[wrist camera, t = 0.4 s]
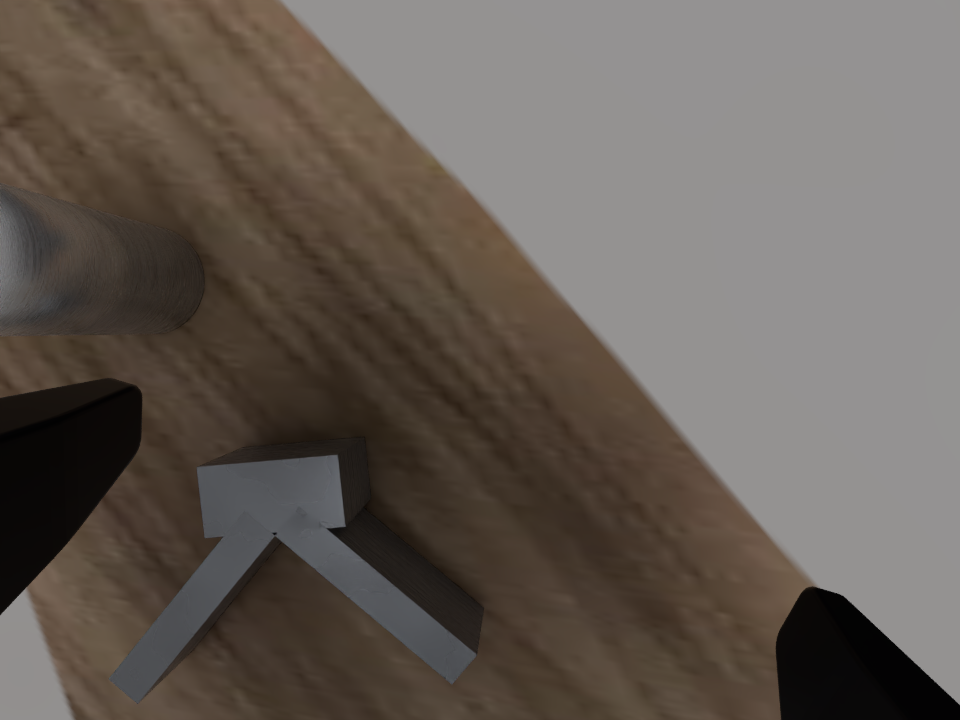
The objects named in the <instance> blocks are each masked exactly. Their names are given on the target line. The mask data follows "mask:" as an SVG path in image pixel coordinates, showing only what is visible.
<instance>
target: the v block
mask: <svg viewBox="0 0 960 720" xmlns="http://www.w3.org/2000/svg"><path fill="white" fill-rule="evenodd" d="M197 475H198V484H199V493H200V501H201V510H202V519H203V528H204V536H205V538H211V537H223V536H224V537H223V538H222V539H221V540H220V542H219V543H218V544H217V545H216V547H215V548H214V549H213V550H212V552H211V553H210V554H209V555H208V557H207V558H206V559H205V560H204V561H203V563H202V564H201V565H200V566H199V568H198V569H197V570H196V571H195V573H194V574H193V575H192V576H191V578H190V579H189V580H188V581H187V583H186V584H185V585H184V586H183V587H182V589H181V590H180V591H179V592H178V594H177V595H176V596H175V597H174V599H173V600H172V601H171V602H170V604H169V605H168V606H167V607H166V609H165V610H164V611H163V612H162V613H161V615H160V616H159V617H158V618H157V620H156V621H155V622H154V623H153V625H152V626H151V627H150V628H149V630H148V631H147V632H146V633H145V635H144V636H143V637H142V638H141V639H140V641H139V642H138V643H137V644H136V646H135V647H134V648H133V649H132V651H131V652H130V653H129V654H128V656H127V657H126V658H125V659H124V661H123V662H122V663H121V664H120V665H119V667H118V668H117V669H116V670H115V672H114V673H113V674H112V675H111V677H110V678H109V680H110V681H111V682H113V683H114V684H115V685H116V686H117V687H118V688H120V689H121V690H122V691H123V692H124V693H125V694H127V695H128V696H129V697H130V698H131V699H132V700H134V701H135V702H136V703H137V704H138V703H139V702H140V701H141V700H142V699H143V698H144V697H145V696H146V695H147V694H148V693H149V692H151V691H152V690H153V689H154V688H155V687H156V686H157V685H158V684H159V683H160V682H161V681H162V680H163V679H164V678H165V677H166V676H167V675H168V674H169V673H170V672H171V671H172V670H173V669H174V668H175V667H176V666H177V665H178V664H179V663H180V662H181V661H182V660H183V659H185V658H186V657H187V656H188V655H189V654H190V653H191V652H192V651H193V649H194V648H195V647H196V646H197V644H198V643H199V642H200V641H201V640H202V638H203V637H204V636H205V635H206V633H207V632H208V631H209V630H210V629H211V627H212V626H213V625H214V624H215V622H216V621H217V620H218V619H219V618H220V616H221V615H222V614H223V613H224V611H225V610H226V609H227V608H228V606H229V605H230V604H231V603H232V602H233V600H234V599H235V598H236V597H237V595H238V594H239V593H240V592H241V591H242V589H243V588H244V587H245V586H246V584H247V583H248V582H249V581H250V580H251V578H252V577H253V576H254V575H255V573H256V572H257V571H258V570H259V569H260V567H261V566H262V565H263V564H264V562H265V561H266V560H267V559H268V558H269V556H270V555H271V554H272V553H273V551H274V550H275V549H276V548H277V546H278V545H279V544H280V543H281V542H283V543H284V544H285V545H287V546H288V547H289V548H290V549H291V550H293V551H294V552H295V553H296V554H297V555H298V556H300V557H301V558H302V559H303V560H304V561H306V562H307V563H308V564H309V565H310V566H312V567H313V568H314V569H315V570H316V571H318V572H319V573H320V574H321V575H322V576H323V577H325V578H326V579H327V580H328V581H329V582H331V583H332V584H333V585H334V586H335V587H337V588H338V589H339V590H340V591H341V592H343V593H344V594H345V595H346V596H347V597H348V598H350V599H351V600H352V601H353V602H354V603H356V604H357V605H358V606H359V607H360V608H362V609H363V610H364V611H365V612H366V613H368V614H369V615H370V616H371V617H372V618H373V619H375V620H376V621H377V622H378V623H379V624H381V625H382V626H383V627H384V628H385V629H387V630H388V631H389V632H390V633H391V634H393V635H394V636H395V637H396V638H397V639H398V640H400V641H401V642H402V643H403V644H404V645H406V646H407V647H408V648H409V649H410V650H412V651H413V652H414V653H415V654H416V655H418V656H419V657H420V658H421V659H422V660H423V661H425V662H426V663H427V664H428V665H429V666H431V667H432V668H433V669H434V670H435V671H437V672H438V673H439V674H440V675H441V676H443V677H444V678H445V679H446V680H447V681H448V682H450V683H451V684H453V683H454V681H455V680H456V679H457V678H458V677H459V676H460V674H461V673H462V672H463V671H464V670H465V669H466V667H467V666H468V665H469V664H470V663H471V662H472V660H473V659H474V658H475V657H476V656H477V652H478V645H479V638H480V631H481V624H482V617H483V611H484V608H483V607H482V606H481V605H480V604H478V603H477V602H476V601H475V600H474V599H472V598H471V597H470V596H469V595H468V594H466V593H465V592H464V591H463V590H462V589H461V588H459V587H458V586H457V585H456V584H455V583H453V582H452V581H451V580H450V579H449V578H447V577H446V576H445V575H444V574H443V573H441V572H440V571H439V570H438V569H437V568H435V567H434V566H433V565H432V564H431V563H429V562H428V561H427V560H426V559H425V558H423V557H422V556H421V555H420V554H419V553H417V552H416V551H415V550H414V549H413V548H411V547H410V546H409V545H408V544H407V543H405V542H404V541H403V540H402V539H401V538H400V537H398V536H397V535H396V534H395V533H394V532H392V531H391V530H390V529H389V528H388V527H386V526H385V525H384V524H383V523H382V522H380V521H379V520H378V519H377V518H376V517H374V516H373V515H372V514H371V513H370V512H368V511H367V510H366V509H365V508H364V506H365V505H366V503H367V502H368V501H369V500H370V499H371V493H370V483H369V474H368V464H367V455H366V445H365V437H355V438H344V439H332V440H321V441H310V442H298V443H287V444H275V445H264V446H253V447H243V448H241V449H238V450H236V451H233V452H231V453H229V454H226V455H224V456H222V457H219V458H217V459H214V460H212V461H210V462H207V463H205V464H203V465H200V466H198V467H197Z"/></svg>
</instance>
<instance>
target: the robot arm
mask: <svg viewBox="0 0 960 720" xmlns="http://www.w3.org/2000/svg"><path fill="white" fill-rule="evenodd" d="M141 432H142V393H141V390H140V389H139V388H138V387H137V386H136V385H133V384H129V383H126V382H122V381H119V380H116V379H112V378H105V379H100V380H94V381H89V382H84V383H78V384H73V385H67V386H62V387H57V388H51V389H46V390H40V391H35V392H30V393H24V394H19V395H13V396H8V397H3V398H0V615H1V614H2V612H4V611H5V609H6V608H7V607H8V606H9V605H10V604H11V603H12V602H13V601H14V600H15V599H16V598H17V597H18V596H19V595H20V594H21V593H22V591H23V590H24V589H25V588H26V587H27V586H28V585H29V584H30V583H31V582H32V581H33V580H34V579H35V578H36V577H37V576H38V575H39V573H40V572H41V571H42V570H43V569H44V568H45V567H46V566H47V565H48V564H49V563H50V562H51V561H52V560H53V559H54V557H55V556H56V555H57V554H58V553H59V552H60V551H61V550H62V549H63V548H64V546H65V545H66V544H67V543H68V542H69V541H70V539H71V538H72V537H73V536H74V534H75V533H76V532H77V531H78V530H79V528H80V527H81V526H82V524H83V523H84V522H85V520H86V519H87V518H88V516H89V515H90V514H91V513H92V511H93V510H94V509H95V507H96V506H97V505H98V503H99V502H100V501H101V499H102V498H103V497H104V496H105V494H106V493H107V492H108V490H109V489H110V488H111V486H112V485H113V484H114V482H115V481H116V480H117V479H118V477H119V476H120V475H121V473H122V472H123V471H124V469H125V468H126V467H127V465H128V464H129V463H130V462H131V460H132V459H133V458H134V456H135V455H136V453H137V451H138V448H139V446H140V442H141ZM776 661H777V674H778V686H779V699H780V711H781V720H960V705H959V704H958V703H957V702H956V701H955V700H954V699H953V698H952V697H951V696H950V695H949V694H947V693H946V692H945V691H944V690H943V689H942V688H941V687H940V686H939V685H938V684H937V683H936V682H934V680H933V679H931V678H930V677H929V676H928V675H927V674H926V673H925V672H924V671H923V670H922V669H921V668H920V667H919V666H918V665H917V664H915V663H914V662H913V661H912V660H911V659H910V658H909V657H908V656H907V655H906V654H905V653H904V652H903V651H902V650H901V649H899V648H898V647H897V646H896V645H895V644H894V643H893V642H892V641H891V640H890V639H889V638H888V637H887V636H886V635H884V634H883V633H882V632H881V631H880V630H879V629H878V628H877V627H876V626H875V625H874V624H873V623H872V622H871V621H870V620H869V619H867V618H866V617H865V616H864V615H863V614H862V613H861V612H860V611H859V610H858V609H857V608H856V607H855V606H854V605H852V604H851V603H850V602H849V601H848V600H847V599H846V598H845V597H844V596H842V595H840V594H837V593H834V592H831V591H827V590H824V589H820V588H817V587H808V588H806V589H805V590H804V591H803V592H802V593H801V594H800V596H799V598H798V599H797V601H796V603H795V605H794V606H793V608H792V610H791V611H790V613H789V615H788V617H787V618H786V620H785V622H784V624H783V625H782V627H781V629H780V631H779V633H778V636H777V641H776Z"/></svg>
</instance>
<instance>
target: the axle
mask: <svg viewBox="0 0 960 720" xmlns="http://www.w3.org/2000/svg"><path fill="white" fill-rule="evenodd" d="M203 290H204V273H203V268H202V264H201V261H200V259H199V257H198V255H197V253H196V252H195V250H194V249H193V247H192V246H191V245H190V244H189V243H188V242H187V241H186V240H185V239H184V238H183V237H181V236H180V235H178V234H177V233H175V232H173V231H170V230H168V229H164V228H161V227H157V226H154V225H150V224H147V223H143V222H139V221H136V220H132V219H129V218H125V217H122V216H118V215H114V214H111V213H107V212H104V211H100V210H96V209H93V208H89V207H86V206H82V205H79V204H75V203H71V202H68V201H64V200H61V199H57V198H53V197H50V196H46V195H43V194H39V193H36V192H32V191H28V190H25V189H21V188H18V187H14V186H11V185H7V184H3V183H0V336H47V335H120V334H161V333H166V332H169V331H172V330H174V329H176V328H178V327H180V326H181V325H183V324H184V323H185V322H186V321H188V320H189V318H190V317H191V316H192V315H193V314H194V312H195V311H196V309H197V308H198V306H199V304H200V301H201V298H202V295H203Z"/></svg>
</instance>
